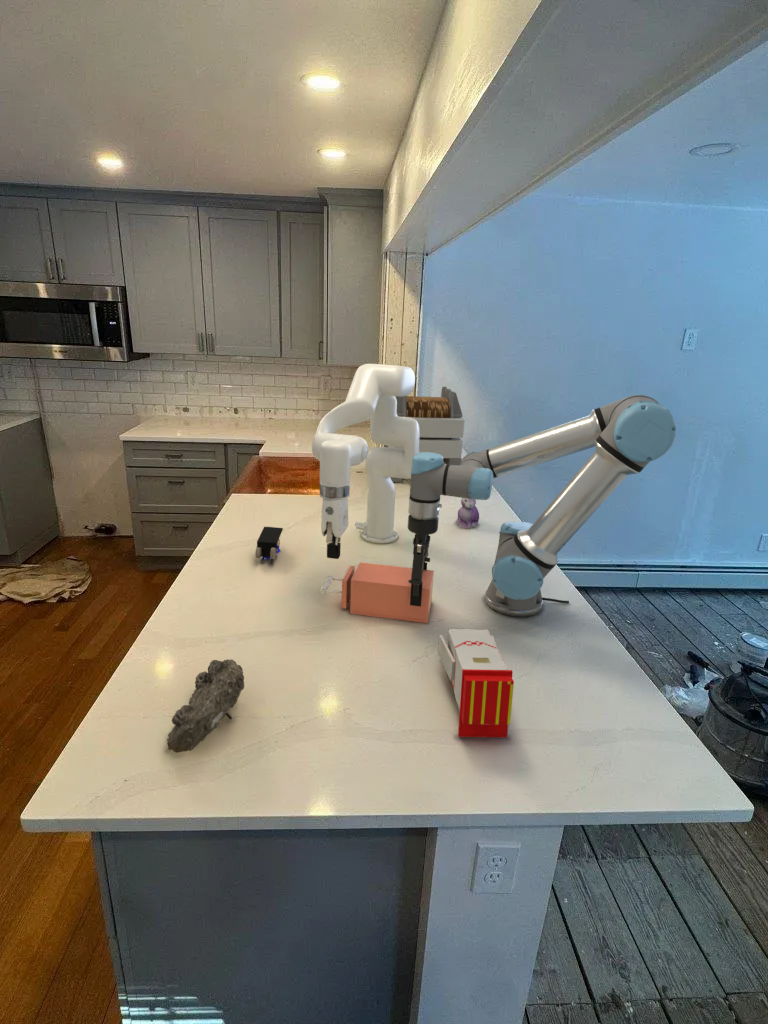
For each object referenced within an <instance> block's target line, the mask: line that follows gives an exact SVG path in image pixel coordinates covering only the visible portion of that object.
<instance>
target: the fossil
mask: <svg viewBox="0 0 768 1024" xmlns="http://www.w3.org/2000/svg"><path fill="white" fill-rule="evenodd" d="M243 670H244V669H243V667H242V665H240V664H237V662H236V661H235V660H234V659H232V658H231V659H227V658H226V659H224V660H223V661H222V660H217V659H212V660H211V661H210V663H209V665H208V666H207V671H201V672H199V673H198V674H197V675H196V676H195V680H194V684H195V685H194V687H195V689H194V690H193V693H192V694H191V697H190V698H189V700H188V704H184V705H182V706H181V707H180V709H177V710H176V711H175V713H174V715H173V716H172V718H171V723H172V724H173V727H172V730H171V731H170V732H168V734H167V738H166V741H167V742H166V745H167V749H168V750H169V751H173V752H174V753H176V754H178V753H182V752H188V751H189V752H192V751H193V750H195V748H196V747H197V746H199V744H200V743H201V742H203V741H204V740H205V739H206V738H207V737H208V736H209V735H210V734H211V733H212V732H214V730H215V729H217V727H218V726H219V724H220V722H221V721H222V720H223V719H224V718H225V716H226V717H227V719H229V720H233V717H232V715H230V714H229V710H230V709H231V708H234V706H235V704H236V703H237V702H238V699H239V697H240V695H241V693H242V691H243V690H245V689H244V688H245V675H244V671H243Z"/></svg>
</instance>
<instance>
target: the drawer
mask: <svg viewBox="0 0 768 1024" xmlns="http://www.w3.org/2000/svg"><path fill="white" fill-rule="evenodd" d="M355 571H356V567H355V565H349V567H348V570H347V571H346V572H345V575H344V576H343V578H340V577H334V576H333V575H328V576H327V578H326V580H325V581H324V582H323V585H322V586H321V588H320V589H319V592H320V594H322V595H324V594H325V593H328V594H335V595H336V594H338V595H341V609H347V607H348V605H349V604H350V602H351V579H352V577H353V575H354V573H355ZM333 581H335V582H341V590H335V589H328V588H329V587H330V586H331V584H332V582H333Z"/></svg>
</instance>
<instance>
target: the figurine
mask: <svg viewBox="0 0 768 1024" xmlns="http://www.w3.org/2000/svg"><path fill="white" fill-rule="evenodd" d="M460 503H461V507H460V508H459V509H458V510H457V519H456V524H457V525H458V526H459V528H462V529H463V528H464V529H472V528H475V527H477V526H478V525H479V520H480V513H479V509H478V508H477V506H476V504H477V500H473V499H468V498H461V500H460Z"/></svg>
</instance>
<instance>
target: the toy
mask: <svg viewBox="0 0 768 1024" xmlns="http://www.w3.org/2000/svg"><path fill="white" fill-rule="evenodd" d="M446 640H447V643H446V641H445V639H444V636H443V635H442V634H439V637H438V646H437V656H438V657H439V659H440V661H441V663H442V666H443V668H444V670H445V672H446V674H447V677H448V679H449V681H450V684H451V687H452V690H453V693H454V697H455V701H456V705H457V708H458V711H459V714H458V715H459V716H458V730H457V731H458V732H457V737H458V738H508V731H509V726H510V725H511V717H512V707H513V697H514V696H513V695H514V684H515V680H514V679H513V673H514V671H513V670H512V669H508V667H507V665H506V662H505V661H504V659H503V658H502V655H501V653H500V651H499V649H498V647H497V643H496V639H495V637H494V635H493V634H491V632H490V631H489V629H467V628H466V629H465V628H463V629H461V628H460V629H459V628H448V630H447V639H446Z"/></svg>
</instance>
